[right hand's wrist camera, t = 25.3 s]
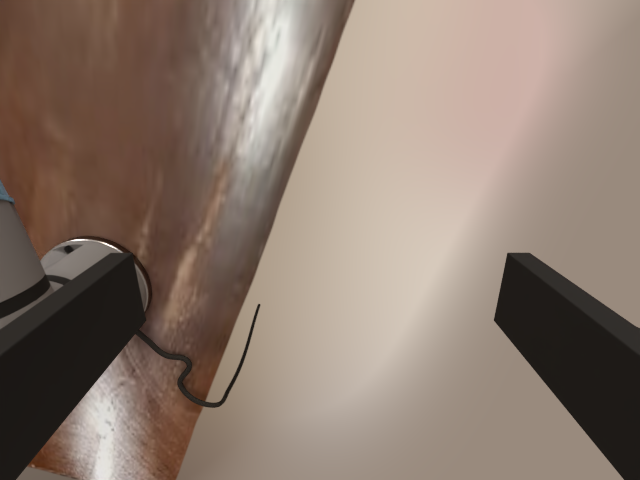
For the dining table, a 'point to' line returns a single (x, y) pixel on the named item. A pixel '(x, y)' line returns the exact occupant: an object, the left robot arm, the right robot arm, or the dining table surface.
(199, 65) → the dining table surface
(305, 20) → the dining table surface
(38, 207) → the dining table surface
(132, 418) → the dining table surface
